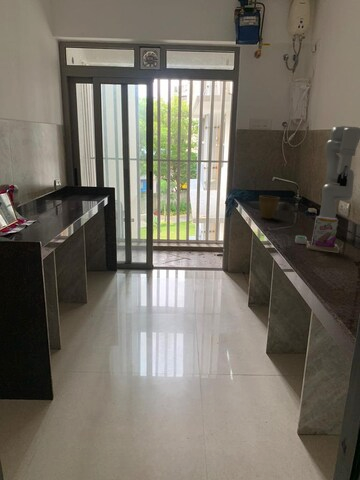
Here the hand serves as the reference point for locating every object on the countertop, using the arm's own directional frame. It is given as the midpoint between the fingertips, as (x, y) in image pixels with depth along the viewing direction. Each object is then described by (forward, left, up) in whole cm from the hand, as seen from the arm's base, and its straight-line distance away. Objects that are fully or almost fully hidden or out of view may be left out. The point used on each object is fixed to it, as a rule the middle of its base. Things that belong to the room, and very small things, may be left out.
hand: (341, 184), depth 193 cm
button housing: (+1, -16, -34) cm, 38 cm away
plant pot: (-64, -36, -34) cm, 81 cm away
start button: (+1, -16, -33) cm, 37 cm away
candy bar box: (+9, -6, -34) cm, 35 cm away
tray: (+10, -6, -34) cm, 36 cm away
